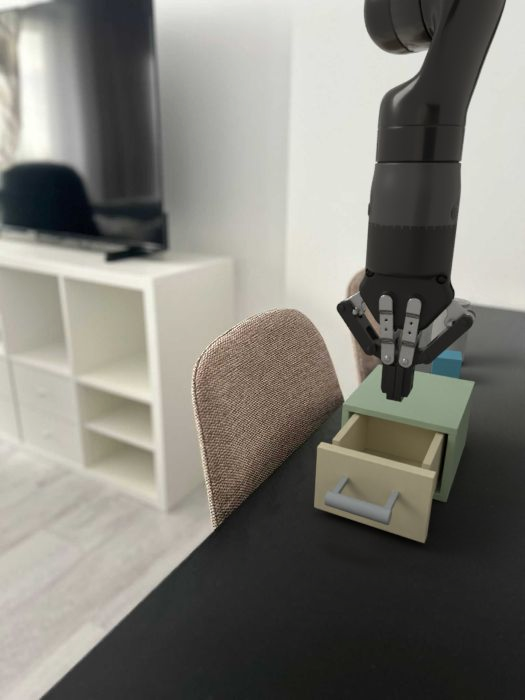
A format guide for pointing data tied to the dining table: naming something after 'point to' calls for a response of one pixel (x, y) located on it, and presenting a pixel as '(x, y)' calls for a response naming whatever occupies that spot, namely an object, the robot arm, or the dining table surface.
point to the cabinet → (421, 413)
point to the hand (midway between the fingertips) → (395, 397)
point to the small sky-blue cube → (447, 364)
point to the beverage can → (439, 327)
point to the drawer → (381, 474)
